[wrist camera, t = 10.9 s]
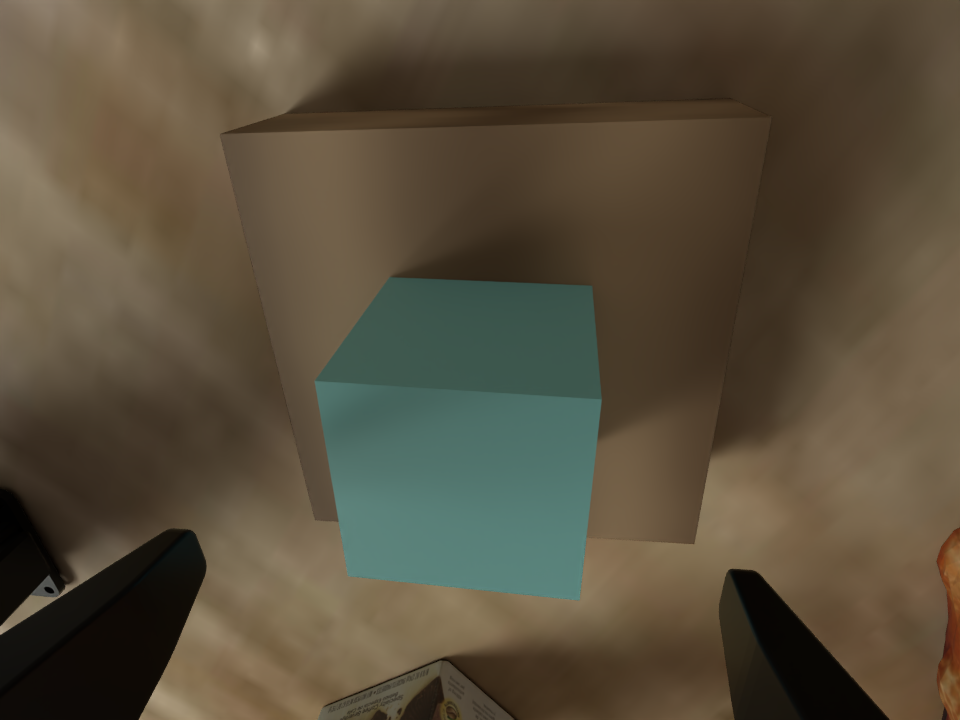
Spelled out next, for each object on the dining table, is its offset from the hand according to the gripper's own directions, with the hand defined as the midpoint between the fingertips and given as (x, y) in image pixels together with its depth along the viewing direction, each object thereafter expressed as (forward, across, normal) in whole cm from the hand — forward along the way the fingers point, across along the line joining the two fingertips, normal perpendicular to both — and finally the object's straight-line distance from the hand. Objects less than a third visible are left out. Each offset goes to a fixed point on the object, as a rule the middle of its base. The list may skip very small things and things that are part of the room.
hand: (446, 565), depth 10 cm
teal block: (+7, 0, 0) cm, 7 cm away
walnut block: (+11, 0, 0) cm, 11 cm away
